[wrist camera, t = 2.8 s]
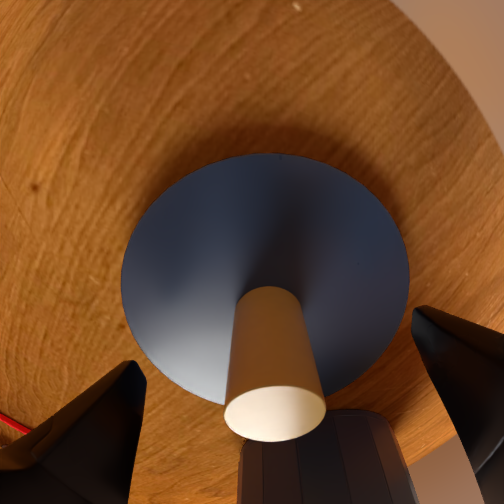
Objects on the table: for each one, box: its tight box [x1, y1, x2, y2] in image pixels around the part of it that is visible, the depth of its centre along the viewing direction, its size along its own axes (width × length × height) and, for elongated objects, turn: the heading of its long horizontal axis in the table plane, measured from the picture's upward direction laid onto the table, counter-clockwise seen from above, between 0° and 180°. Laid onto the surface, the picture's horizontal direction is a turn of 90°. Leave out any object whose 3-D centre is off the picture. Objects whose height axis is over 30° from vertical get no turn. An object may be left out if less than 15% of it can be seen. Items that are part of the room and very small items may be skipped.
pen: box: [0, 413, 32, 435], centre depth 17 cm, size 1×19×1 cm, turn 87°
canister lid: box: [121, 153, 410, 442], centre depth 8 cm, size 11×11×6 cm
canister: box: [237, 409, 419, 504], centre depth 12 cm, size 10×10×8 cm
